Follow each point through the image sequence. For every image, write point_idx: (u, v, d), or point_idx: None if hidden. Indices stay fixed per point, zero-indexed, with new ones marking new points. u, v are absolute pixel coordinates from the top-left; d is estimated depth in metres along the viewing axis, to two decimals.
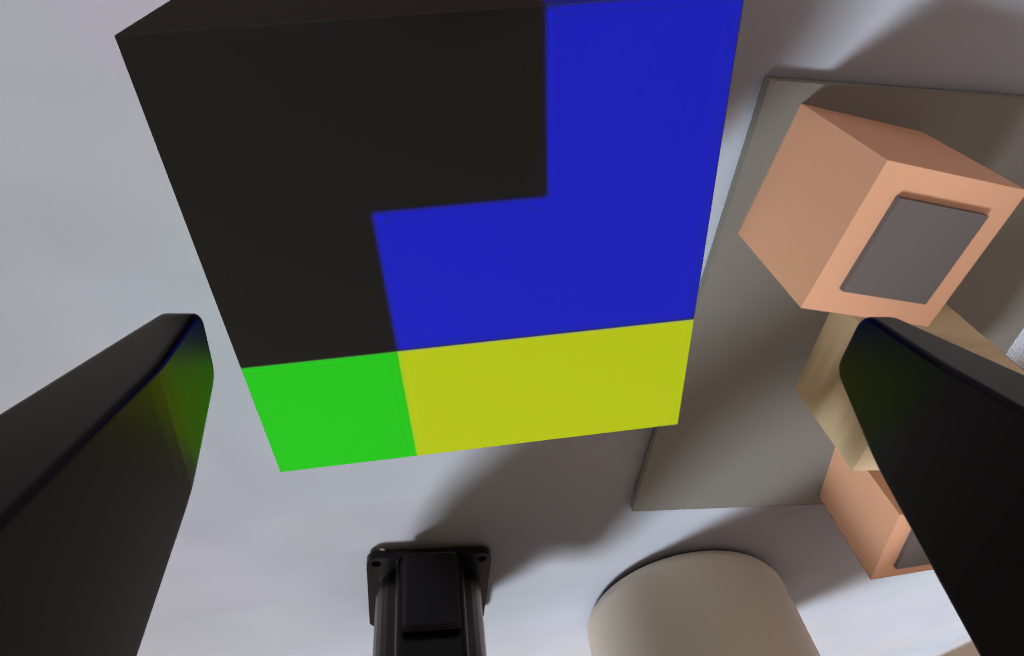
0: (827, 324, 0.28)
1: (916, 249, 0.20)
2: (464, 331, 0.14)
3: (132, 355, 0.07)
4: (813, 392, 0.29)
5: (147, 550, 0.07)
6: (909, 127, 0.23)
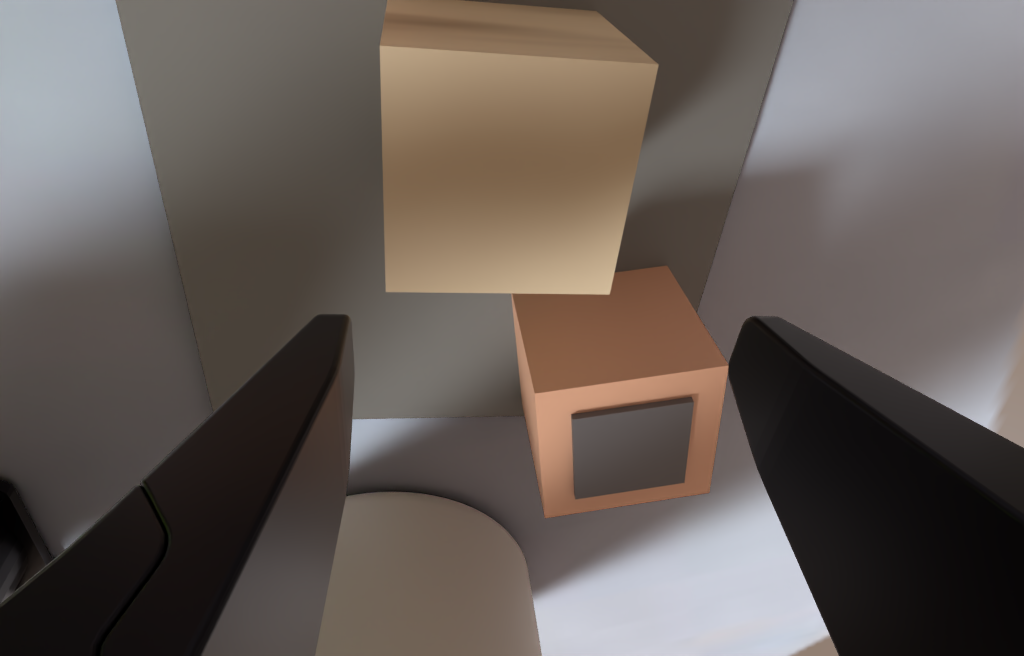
0: None
1: None
2: None
3: (309, 354, 0.07)
4: None
5: (326, 542, 0.07)
6: None
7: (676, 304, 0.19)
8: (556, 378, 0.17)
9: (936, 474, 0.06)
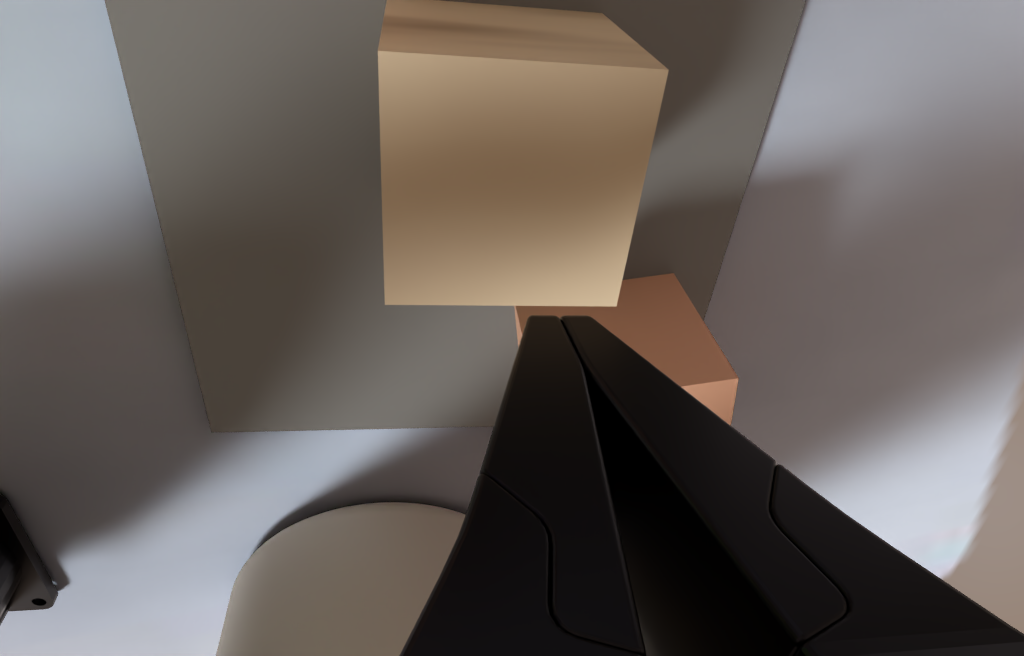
0: None
1: None
2: None
3: (551, 353, 0.07)
4: None
5: None
6: None
7: (683, 313, 0.18)
8: None
9: (665, 484, 0.06)
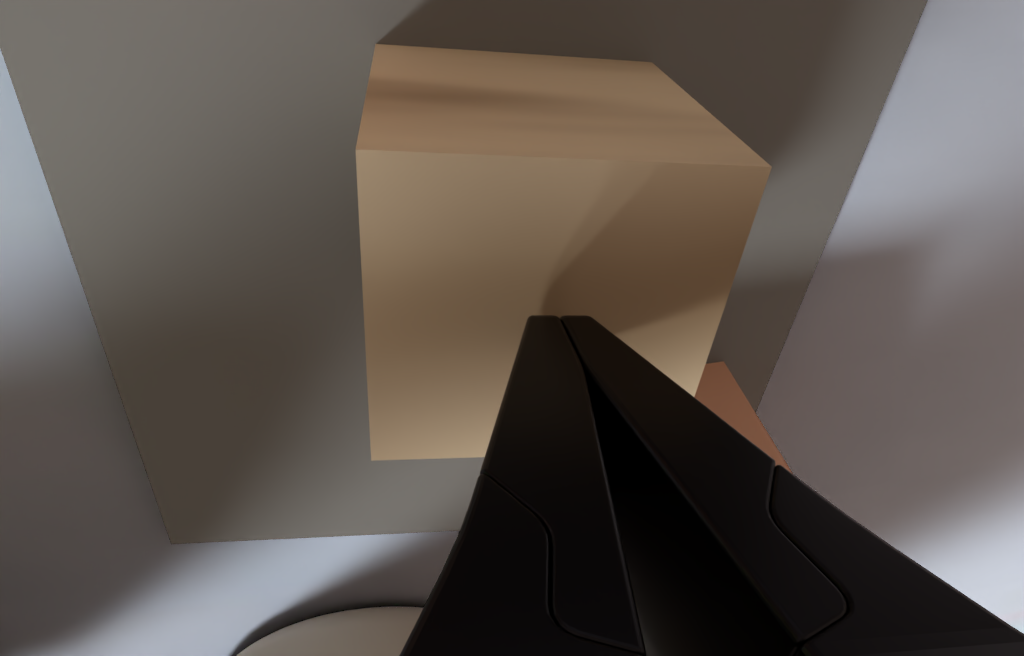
0: None
1: None
2: None
3: (551, 353, 0.07)
4: None
5: None
6: None
7: (742, 421, 0.15)
8: None
9: (665, 484, 0.06)
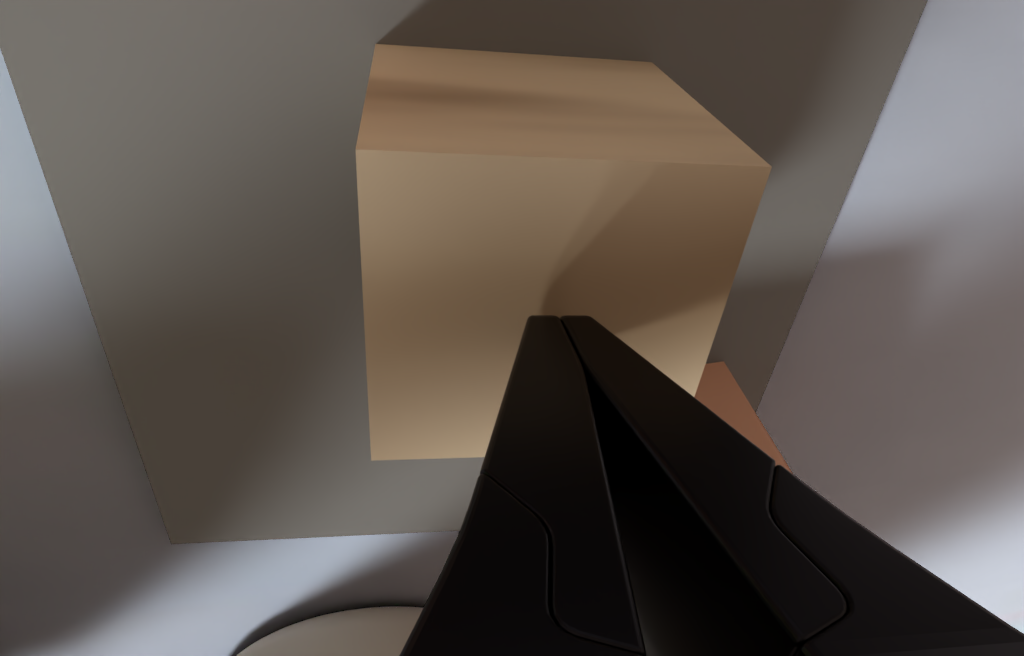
0: None
1: None
2: None
3: (551, 353, 0.07)
4: None
5: None
6: None
7: (742, 421, 0.15)
8: None
9: (665, 484, 0.06)
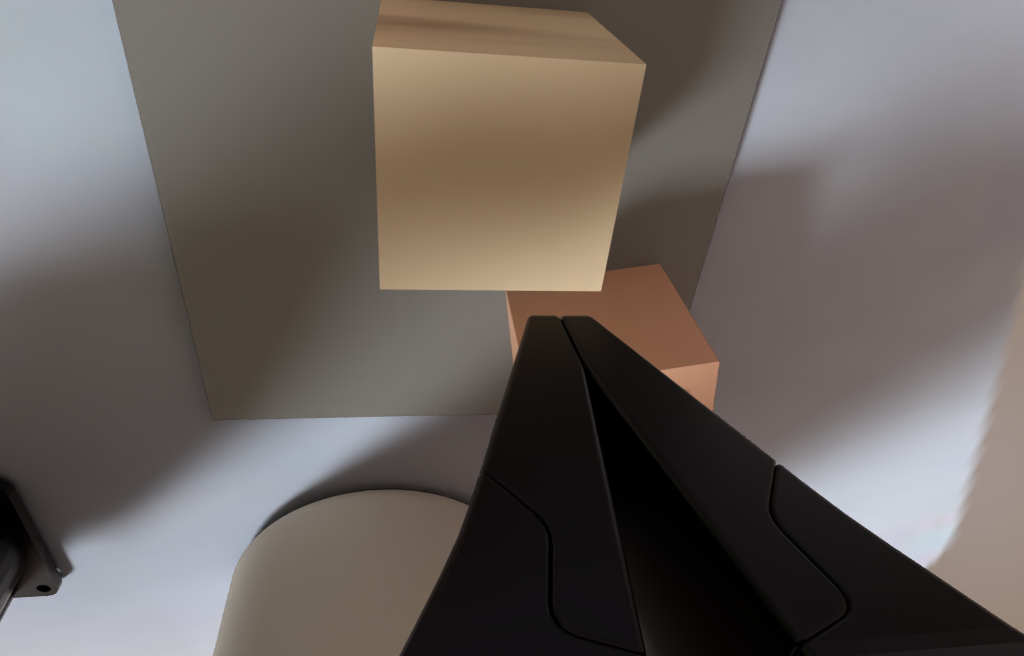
0: None
1: None
2: None
3: (551, 353, 0.07)
4: None
5: None
6: None
7: (668, 301, 0.19)
8: None
9: (665, 484, 0.06)
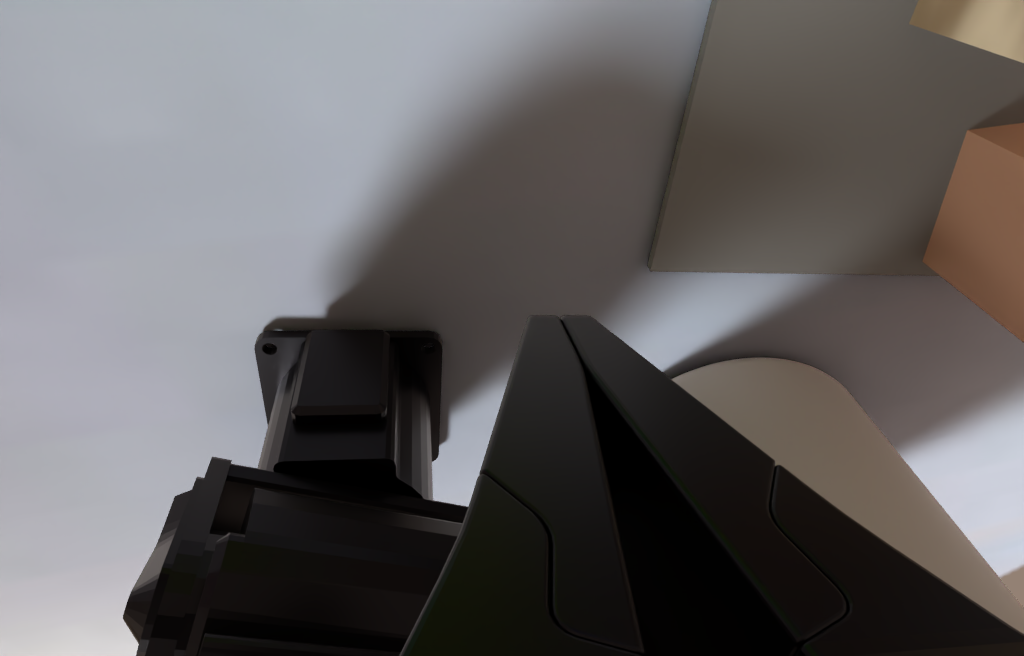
0: None
1: None
2: None
3: (550, 353, 0.07)
4: (949, 0, 0.18)
5: None
6: None
7: None
8: None
9: (665, 484, 0.06)
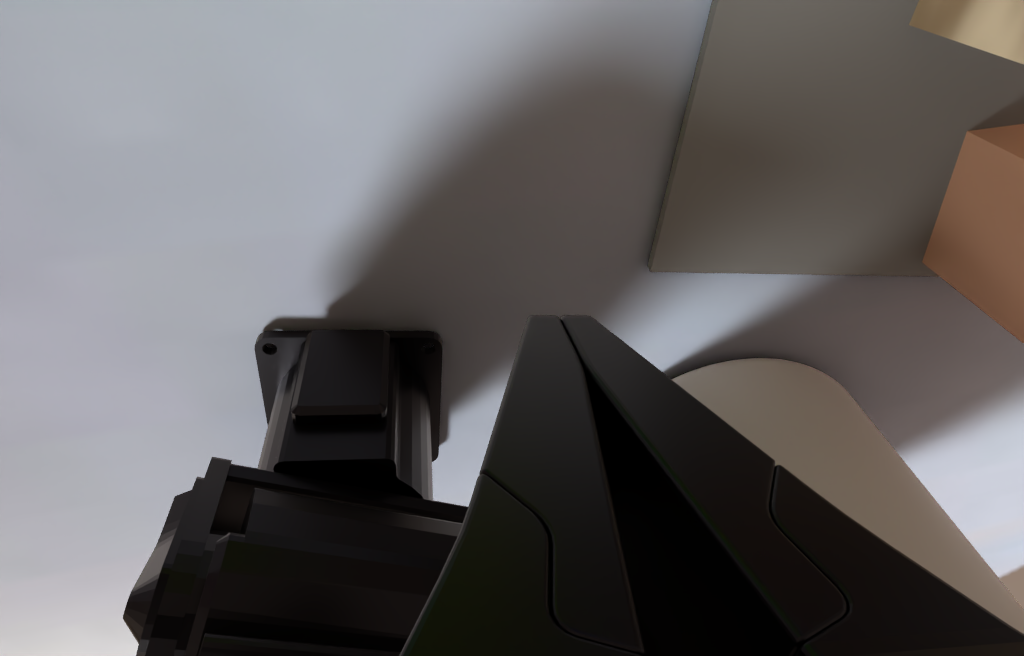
0: None
1: None
2: None
3: (551, 353, 0.07)
4: (949, 1, 0.18)
5: None
6: None
7: None
8: None
9: (665, 484, 0.06)
